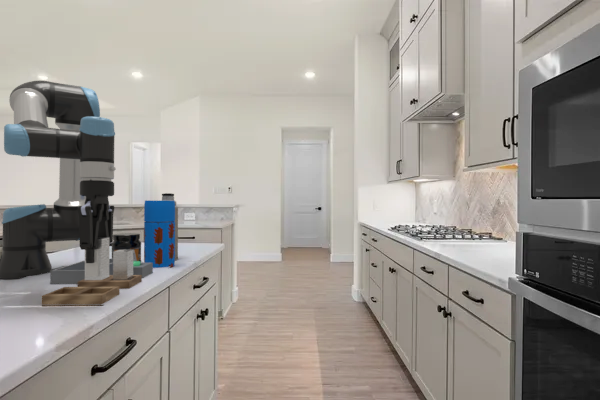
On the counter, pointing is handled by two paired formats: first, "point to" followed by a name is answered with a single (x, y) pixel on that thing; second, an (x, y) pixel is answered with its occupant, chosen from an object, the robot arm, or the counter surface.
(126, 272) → the block
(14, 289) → the counter surface
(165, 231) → the thermos
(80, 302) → the pallets
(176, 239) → the thermos bottle
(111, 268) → the tote
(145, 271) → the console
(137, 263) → the button
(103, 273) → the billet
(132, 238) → the supplement container
